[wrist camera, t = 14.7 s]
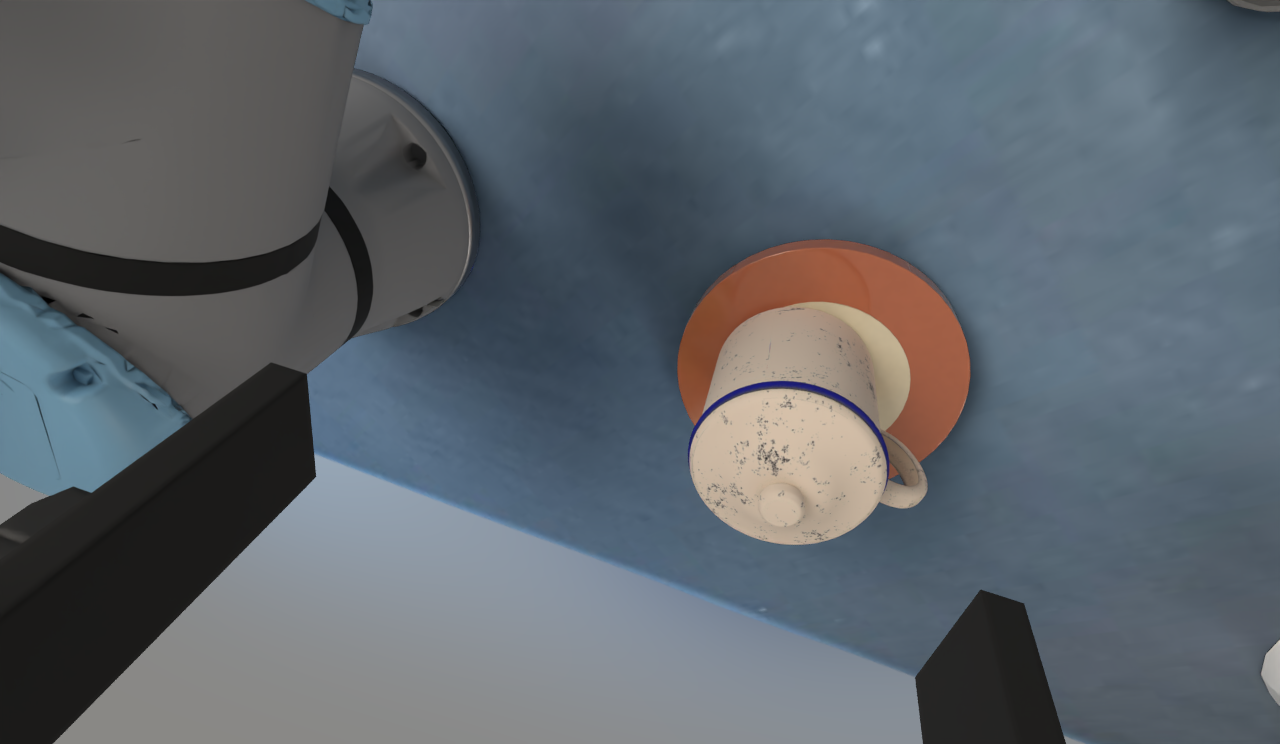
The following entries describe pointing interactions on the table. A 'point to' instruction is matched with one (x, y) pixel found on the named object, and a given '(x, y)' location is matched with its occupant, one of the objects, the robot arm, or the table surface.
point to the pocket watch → (1258, 4)
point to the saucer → (868, 303)
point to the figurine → (1272, 672)
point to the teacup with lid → (797, 432)
